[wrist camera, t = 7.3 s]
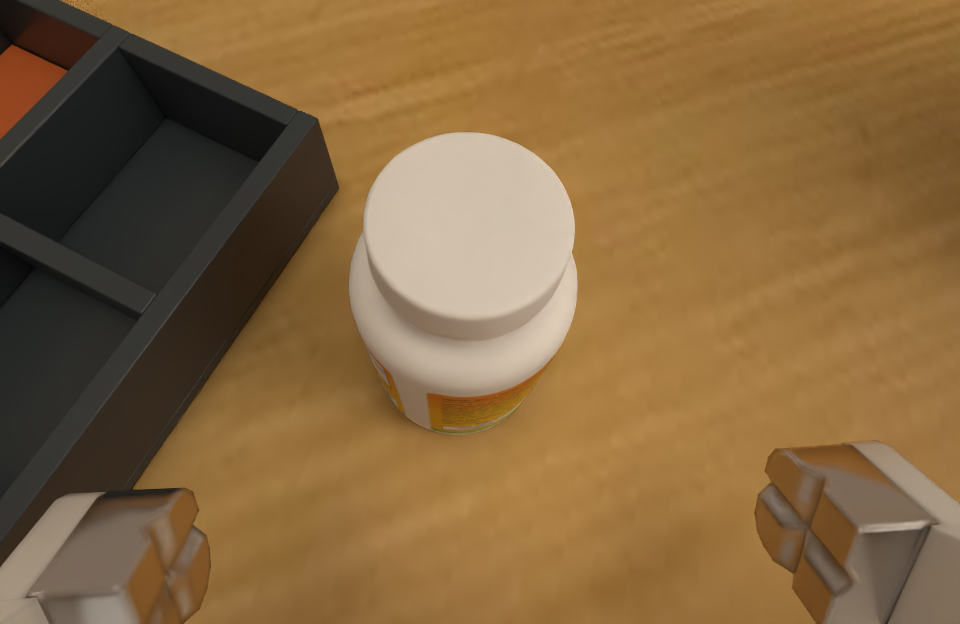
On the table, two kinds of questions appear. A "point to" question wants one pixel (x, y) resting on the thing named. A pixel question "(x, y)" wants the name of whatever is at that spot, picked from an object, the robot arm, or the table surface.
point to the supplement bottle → (464, 278)
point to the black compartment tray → (127, 243)
